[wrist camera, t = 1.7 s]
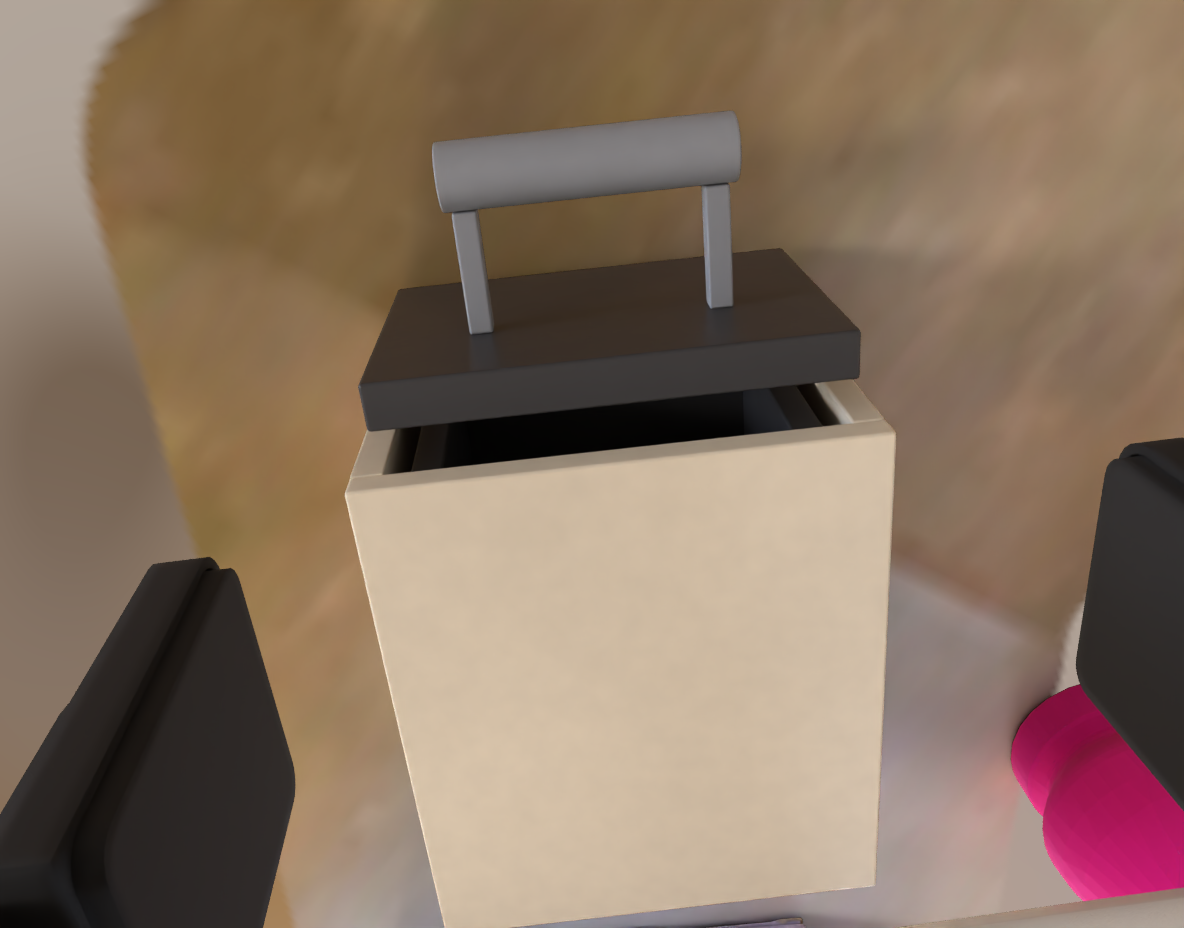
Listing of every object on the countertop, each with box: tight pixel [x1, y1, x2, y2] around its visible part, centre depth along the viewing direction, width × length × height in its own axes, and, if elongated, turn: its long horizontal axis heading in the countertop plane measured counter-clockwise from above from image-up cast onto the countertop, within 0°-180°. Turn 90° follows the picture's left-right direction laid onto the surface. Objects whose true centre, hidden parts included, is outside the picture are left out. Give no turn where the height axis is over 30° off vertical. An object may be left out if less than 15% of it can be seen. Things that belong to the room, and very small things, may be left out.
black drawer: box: [358, 111, 861, 472], centre depth 28 cm, size 18×11×8 cm, turn 5°
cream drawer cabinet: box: [345, 379, 896, 928], centre depth 30 cm, size 15×13×10 cm
